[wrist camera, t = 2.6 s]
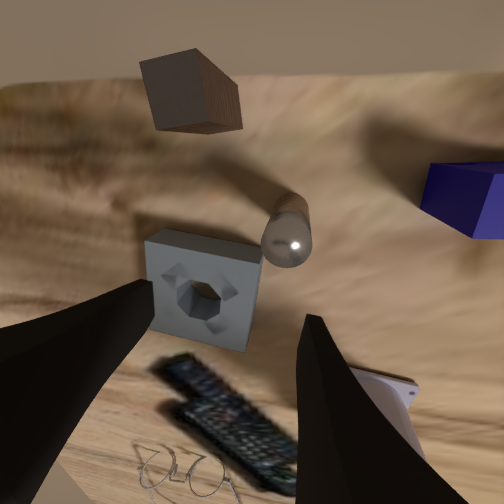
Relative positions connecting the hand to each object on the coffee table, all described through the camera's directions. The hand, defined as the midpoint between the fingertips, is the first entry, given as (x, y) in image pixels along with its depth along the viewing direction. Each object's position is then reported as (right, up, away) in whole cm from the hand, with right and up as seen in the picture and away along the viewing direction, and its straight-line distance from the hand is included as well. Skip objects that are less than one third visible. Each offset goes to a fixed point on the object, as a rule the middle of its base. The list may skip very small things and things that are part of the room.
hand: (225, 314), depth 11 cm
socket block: (-3, 0, +12) cm, 12 cm away
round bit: (+4, +6, +8) cm, 11 cm away
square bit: (-1, +13, +6) cm, 14 cm away
